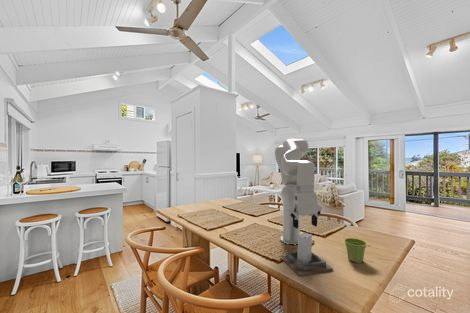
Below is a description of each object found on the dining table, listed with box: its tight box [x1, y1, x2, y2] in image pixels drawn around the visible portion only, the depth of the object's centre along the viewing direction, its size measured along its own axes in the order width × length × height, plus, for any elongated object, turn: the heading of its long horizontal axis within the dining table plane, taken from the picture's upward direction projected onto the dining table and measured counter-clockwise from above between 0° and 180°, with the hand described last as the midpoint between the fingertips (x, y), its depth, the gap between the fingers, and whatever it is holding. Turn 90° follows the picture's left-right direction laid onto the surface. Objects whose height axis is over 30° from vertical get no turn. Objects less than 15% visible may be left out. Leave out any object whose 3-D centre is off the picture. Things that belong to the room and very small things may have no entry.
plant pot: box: [343, 237, 368, 264], centre depth 100 cm, size 9×9×9 cm
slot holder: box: [280, 251, 334, 277], centre depth 96 cm, size 16×16×3 cm
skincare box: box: [297, 232, 313, 264], centre depth 96 cm, size 6×4×12 cm
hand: (305, 226), depth 96 cm, fingers open, 9 cm apart
